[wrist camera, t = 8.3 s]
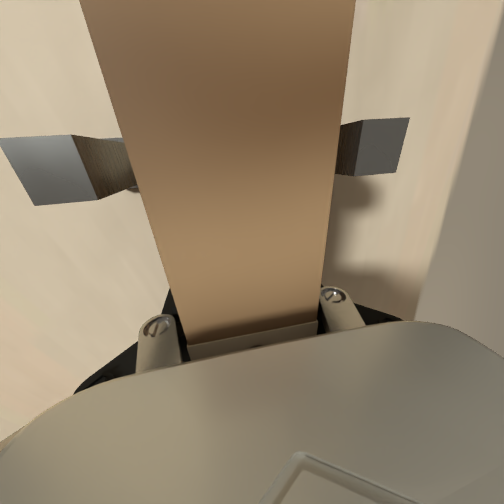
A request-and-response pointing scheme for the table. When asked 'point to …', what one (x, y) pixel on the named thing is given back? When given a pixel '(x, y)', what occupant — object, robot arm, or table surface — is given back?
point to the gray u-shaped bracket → (122, 176)
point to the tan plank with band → (231, 152)
